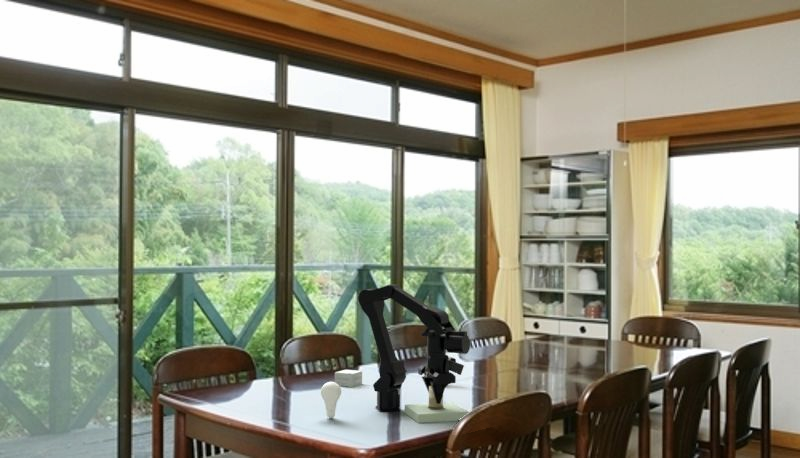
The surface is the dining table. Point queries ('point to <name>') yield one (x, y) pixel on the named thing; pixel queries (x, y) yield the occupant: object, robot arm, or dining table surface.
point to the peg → (434, 401)
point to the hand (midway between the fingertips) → (436, 402)
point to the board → (435, 412)
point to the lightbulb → (330, 397)
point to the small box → (348, 378)
